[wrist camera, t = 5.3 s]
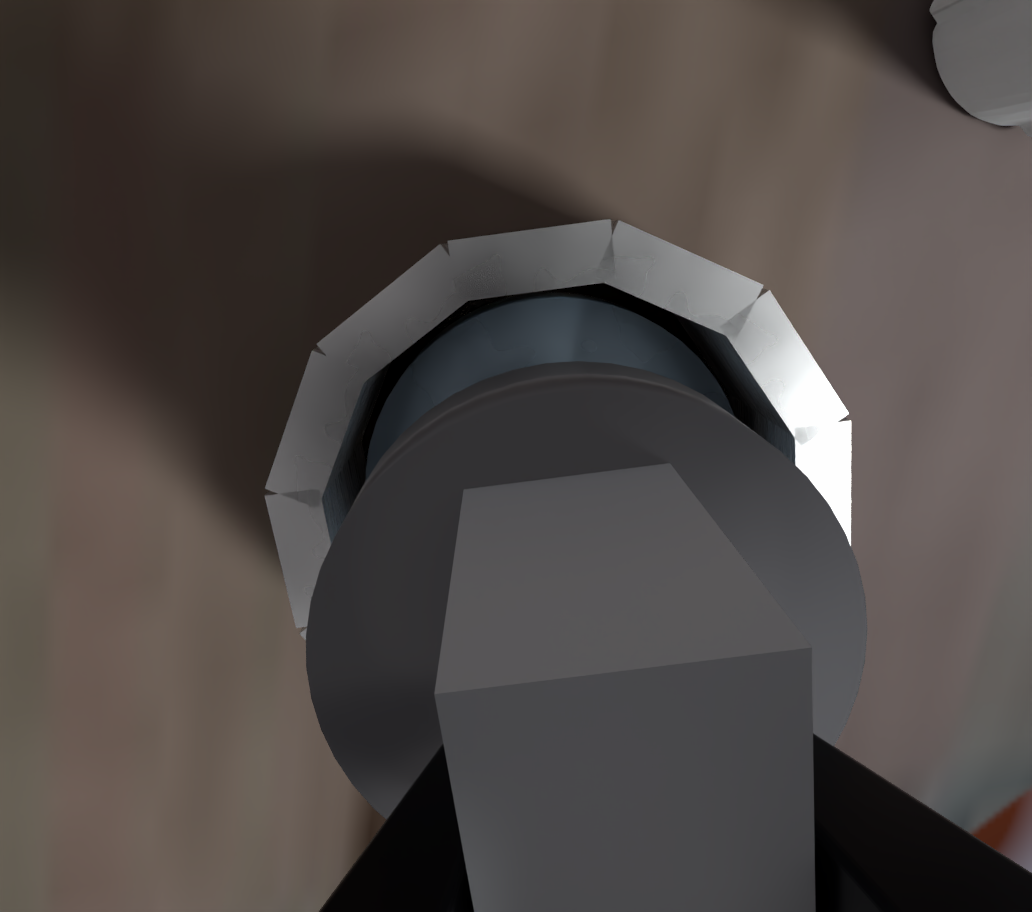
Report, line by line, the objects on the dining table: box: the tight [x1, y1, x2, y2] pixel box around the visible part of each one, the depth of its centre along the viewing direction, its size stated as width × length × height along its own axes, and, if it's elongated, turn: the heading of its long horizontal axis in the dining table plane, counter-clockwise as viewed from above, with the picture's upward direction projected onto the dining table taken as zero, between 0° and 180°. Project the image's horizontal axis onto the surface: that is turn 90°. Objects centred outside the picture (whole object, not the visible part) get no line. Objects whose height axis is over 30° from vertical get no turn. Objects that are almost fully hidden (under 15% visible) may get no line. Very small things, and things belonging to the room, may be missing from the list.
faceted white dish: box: [265, 219, 851, 640], centre depth 15 cm, size 11×11×4 cm
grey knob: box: [306, 361, 867, 912], centre depth 8 cm, size 7×7×6 cm
